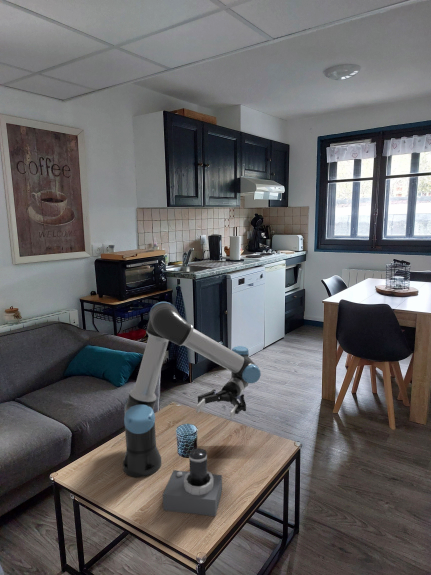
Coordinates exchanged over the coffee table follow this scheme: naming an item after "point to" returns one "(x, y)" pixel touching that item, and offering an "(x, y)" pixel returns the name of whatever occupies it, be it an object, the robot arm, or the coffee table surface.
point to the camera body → (192, 494)
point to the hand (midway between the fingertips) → (213, 412)
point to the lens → (198, 467)
